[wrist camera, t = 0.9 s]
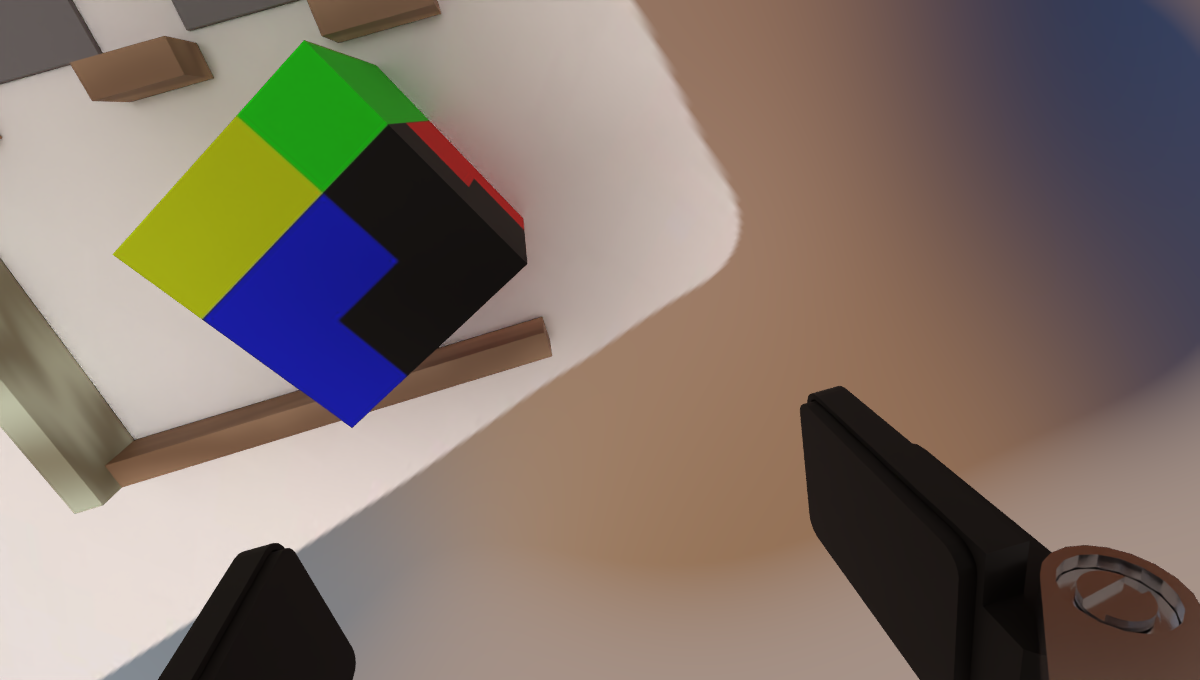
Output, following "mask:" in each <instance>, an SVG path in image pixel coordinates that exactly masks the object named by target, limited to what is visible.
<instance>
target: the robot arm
mask: <svg viewBox="0 0 1200 680" xmlns="http://www.w3.org/2000/svg"><path fill="white" fill-rule="evenodd" d="M800 416H801V427H802V437H803V449H804V460H805V470H806V481H807V492H808V503H809V513H810V520H811V524H812V526H813V529H814V531H815V533H816V535H817V537H818V538H819V540H820V541H821V542H822V544H823V545H824V547H825V548H826V550H827V551H828V552H829V554H830V555H831V556H832V558H833V559H834V561H835V562H836V563H837V565H838V566H839V568H840V569H841V570H842V572H843V573H844V574H845V576H846V577H847V579H848V580H849V582H850V583H851V584H852V586H853V587H854V589H855V590H856V591H857V593H858V594H859V596H860V597H861V598H862V600H863V601H864V603H865V604H866V605H867V607H868V608H869V609H870V611H871V612H872V614H873V615H874V616H875V617H876V619H877V621H878V622H879V623H880V625H881V626H882V628H883V629H884V630H885V632H886V633H887V635H888V636H889V637H890V639H891V640H892V642H893V643H894V644H895V646H896V647H897V649H898V650H899V651H900V653H901V654H902V656H903V657H904V658H905V660H906V661H907V663H908V664H909V665H910V667H911V668H912V670H913V671H914V672H915V674H916V675H917V676H918V678H919V679H920V680H1200V604H1199V602H1198V600H1197V599H1196V597H1195V595H1194V594H1193V593H1192V592H1191V591H1190V590H1189V589H1188V588H1187V587H1186V586H1185V585H1184V584H1183V583H1182V582H1181V581H1179V579H1177V578H1176V577H1175V576H1173V575H1171V574H1170V573H1168V572H1167V571H1165V570H1164V569H1162V568H1160V567H1159V566H1157V565H1156V564H1154V563H1151V562H1149V561H1147V560H1144V559H1142V558H1140V557H1137V556H1135V555H1133V554H1130V553H1126V552H1123V551H1119V550H1115V549H1111V548H1107V547H1098V546H1089V545H1081V546H1070V547H1064V548H1062V549H1059V550H1057V551H1054V552H1050V551H1049V550H1048V549H1047V548H1045V547H1044V546H1043V545H1042V544H1041V543H1039V542H1038V541H1037V540H1036V539H1035V538H1033V537H1032V536H1031V535H1030V534H1028V533H1027V532H1026V531H1025V530H1023V529H1022V528H1021V527H1020V526H1019V525H1017V524H1016V523H1015V522H1014V521H1012V520H1011V519H1010V518H1009V517H1008V516H1006V515H1005V514H1004V513H1003V512H1001V511H1000V510H999V509H997V508H996V507H995V506H994V505H993V504H992V503H990V502H989V501H988V500H987V499H985V498H984V497H983V496H982V495H980V494H979V493H978V492H977V491H976V490H974V489H973V488H972V487H971V486H970V485H968V484H967V483H966V482H965V481H963V480H962V479H961V478H960V477H958V476H957V475H956V474H955V473H954V472H952V471H951V470H950V469H949V468H947V467H946V466H945V465H944V464H943V463H941V462H940V461H939V460H938V459H936V458H935V457H934V456H933V455H931V454H930V453H929V452H928V451H927V450H925V449H924V448H922V447H921V446H919V445H917V444H912V443H911V442H910V441H908V440H907V439H906V438H905V437H904V436H902V435H901V434H900V433H899V432H898V431H896V430H895V429H894V428H893V427H892V426H890V425H889V424H888V423H887V422H886V421H884V420H883V419H882V418H881V417H880V416H878V415H877V414H876V413H875V412H873V411H872V410H871V409H870V408H869V407H867V406H866V405H865V404H864V403H862V402H861V401H860V400H859V399H858V398H857V397H855V396H854V395H853V394H852V393H850V392H849V391H848V390H847V389H845V388H844V387H842V386H837V387H833V388H830V389H826V390H823V391H819V392H816V393H812V394H810V395H809V396H808V400H807V403H806V404H803V405H801V407H800ZM355 665H356V661H355V654H354V651H353V648H352V646H351V645H350V643H349V641H348V640H347V638H346V637H345V635H344V633H343V632H342V630H341V628H340V626H339V625H338V623H337V621H336V620H335V618H334V616H333V615H332V613H331V611H330V610H329V608H328V606H327V605H326V603H325V602H324V600H323V598H322V596H321V595H320V593H319V591H318V590H317V588H316V586H315V585H314V583H313V581H312V580H311V578H310V577H309V575H308V573H307V571H306V570H305V568H304V566H303V565H302V563H301V561H300V560H299V558H298V556H297V555H296V553H295V552H294V551H293V550H292V549H290V548H286V549H285V548H284V547H283V546H282V545H280V544H279V543H272V544H269V545H265V546H261V547H258V548H254V549H251V550H247V551H244V552H241V553H239V554H238V555H237V556H236V558H235V559H234V560H233V562H232V563H231V565H230V567H229V568H228V570H227V571H226V573H225V574H224V576H223V578H222V579H221V581H220V582H219V584H218V586H217V587H216V589H215V590H214V592H213V593H212V595H211V597H210V598H209V600H208V601H207V603H206V604H205V606H204V608H203V609H202V611H201V612H200V614H199V616H198V617H197V619H196V620H195V622H194V623H193V625H192V627H191V628H190V630H189V631H188V633H187V635H186V636H185V638H184V639H183V641H182V643H181V644H180V646H179V647H178V649H177V650H176V652H175V654H174V655H173V657H172V658H171V660H170V661H169V663H168V665H167V666H166V668H165V669H164V671H163V672H162V674H161V676H160V677H159V679H158V680H353V676H354V672H355Z"/></svg>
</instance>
